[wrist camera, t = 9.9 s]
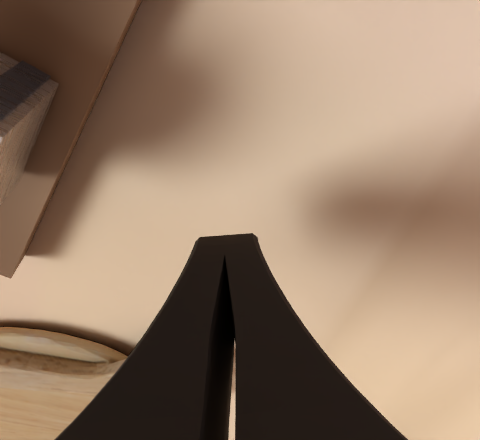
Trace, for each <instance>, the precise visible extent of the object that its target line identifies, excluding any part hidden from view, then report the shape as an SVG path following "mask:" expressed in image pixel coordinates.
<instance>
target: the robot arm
mask: <svg viewBox="0 0 480 440" xmlns="http://www.w3.org/2000/svg"><path fill="white" fill-rule="evenodd" d="M234 340H235V344H236V421H235V440H408V439H407V438H406V437H404V436H403V435H402V434H401V433H400V432H399V431H398V430H397V429H396V428H395V427H394V426H393V425H392V424H391V423H390V422H389V421H388V420H387V419H386V418H385V417H384V416H383V415H382V414H381V413H380V412H379V411H378V410H377V409H376V408H375V407H374V406H373V405H372V404H371V403H370V402H369V401H368V400H367V399H366V398H365V397H364V396H363V395H362V394H361V393H360V392H359V391H358V390H357V389H356V388H355V387H354V386H353V385H352V383H351V382H350V381H349V380H348V379H347V378H346V377H345V375H344V374H343V373H342V372H341V371H340V370H339V369H338V367H337V366H336V365H335V364H334V363H333V362H332V361H331V359H330V358H329V357H328V356H327V354H326V353H325V352H324V351H323V349H322V348H321V347H320V346H319V344H318V343H317V342H316V341H315V339H314V338H313V337H312V335H311V334H310V333H309V331H308V330H307V329H306V327H305V326H304V324H303V323H302V321H301V320H300V319H299V317H298V316H297V314H296V313H295V311H294V310H293V308H292V307H291V305H290V304H289V302H288V300H287V299H286V297H285V296H284V294H283V292H282V290H281V289H280V287H279V285H278V284H277V282H276V280H275V278H274V277H273V275H272V273H271V271H270V269H269V267H268V265H267V263H266V261H265V258H264V256H263V254H262V251H261V249H260V246H259V243H258V238H257V237H256V236H255V235H254V234H253V233H250V234H236V235H223V236H209V237H200V238H199V239H198V240H197V241H196V242H195V245H194V247H193V250H192V252H191V254H190V257H189V259H188V261H187V263H186V265H185V267H184V269H183V271H182V273H181V275H180V277H179V279H178V280H177V282H176V284H175V286H174V287H173V289H172V291H171V293H170V295H169V296H168V298H167V300H166V302H165V303H164V305H163V306H162V308H161V310H160V311H159V313H158V314H157V316H156V317H155V319H154V320H153V322H152V323H151V325H150V326H149V328H148V329H147V331H146V333H145V334H144V335H143V337H142V338H141V340H140V341H139V342H138V344H137V345H136V347H135V348H134V349H133V351H132V352H131V353H130V355H129V356H128V357H127V359H126V360H125V361H124V362H123V364H122V365H121V366H120V368H119V369H118V370H117V371H116V373H115V374H114V375H113V376H112V377H111V379H110V380H109V381H108V382H107V383H106V384H105V386H104V387H103V388H102V389H101V390H100V391H99V393H98V394H97V395H96V396H95V397H94V398H93V400H92V401H91V402H90V403H89V404H88V405H87V406H86V407H85V408H84V410H83V411H82V412H81V413H80V414H79V415H78V416H77V417H76V418H75V419H74V420H73V421H72V422H71V423H70V424H69V425H68V426H67V427H66V428H65V429H64V430H63V431H62V432H61V433H60V434H59V435H58V436H57V437H56V438H55V439H54V440H228V433H229V416H230V401H231V386H232V371H233V356H234Z"/></svg>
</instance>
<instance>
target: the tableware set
mask: <svg viewBox="0 0 480 440" xmlns="http://www.w3.org/2000/svg"><path fill="white" fill-rule="evenodd" d="M127 357H128V356H126V355H124V354H122V353H120V352H118V351H116V350H114V349H112V348H109V347H107V346H105V345H102V344H99V343H96V342H93V341H89V340H86V339H82V338H78V337H74V336H70V335H67V334H63V333H57V332H51V331H45V330H38V329H28V328H17V327H0V440H54V439H55V438H56V437H57V436H58V435H59V434H60V433H61V432H62V431H63V430H64V429H65V428H66V427H67V426H68V425H69V424H70V423H71V422H72V421H73V420H74V419H75V418H76V417H77V416H78V415H79V414H80V413H81V412H82V411H83V410H84V408H85V407H86V406H87V405H88V404H89V403H90V402H91V401H92V400H93V398H94V397H95V396H96V395H97V394H98V393H99V391H100V390H101V389H102V388H103V387H104V386H105V384H106V383H107V382H108V381H109V380H110V379H111V377H112V376H113V375H114V374H115V373H116V371H117V370H118V369H119V368H120V366H121V365H122V364H123V362H124V361H125V360H126V359H127Z"/></svg>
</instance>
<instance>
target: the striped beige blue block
mask: <svg viewBox="0 0 480 440" xmlns="http://www.w3.org/2000/svg"><path fill="white" fill-rule="evenodd" d="M50 77H51V76H50V75H48V74H46V73H44V72H43V71H41V70H39V69H37V68H35V67H34V66H32V65H30V64H28V63H26V62H24V61H23V60H22V61H21V62H18V61H16V60H14V59H12V58H10V57H8V56H7V55H5V54H3V53H1V52H0V205H1V204H2V203H3V201H4V200H5V199H6V198H7V196H8V195H9V194H10V193H11V191H12V190H13V189H14V188H15V186H16V185H17V184H18V183H19V181H20V179H21V176H22V174H23V171H24V169H25V166H26V164H27V161H28V159H29V156H30V154H31V151H32V149H33V146H34V144H35V141H36V139H37V136H38V134H39V131H40V129H41V126H42V124H43V121H44V119H45V117H46V114H47V112H48V109H49V107H50V104H51V102H52V99H53V97H54V94H55V92H56V89H57V87H58V83H56V82H54V81H53V80H51V79H50Z"/></svg>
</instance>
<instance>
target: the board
mask: <svg viewBox="0 0 480 440" xmlns="http://www.w3.org/2000/svg"><path fill="white" fill-rule="evenodd" d="M141 1H142V0H0V52H1V53H3V54H5V55H7V56H8V57H10V58H12V59H14V60H16V61H18V62H21V61H22V60H23V61H24V62H26V63H28V64H30V65H32V66H34V67H35V68H37V69H39V70H41V71H43V72H44V73H46V74H48V75H50V76H51V77H50V79H51V80H53V81H54V82H56V83H58V87H57V89H56V92H55V94H54V97H53V99H52V102H51V104H50V107H49V109H48V112H47V114H46V117H45V119H44V121H43V124H42V126H41V129H40V131H39V134H38V136H37V139H36V141H35V144H34V146H33V149H32V151H31V154H30V156H29V159H28V161H27V164H26V166H25V169H24V171H23V174H22V176H21V179H20V181H19V183H18V184H17V185H16V186H15V188H14V189H13V190H12V191H11V193H10V194H9V195H8V196H7V198H6V199H5V200H4V201H3V203H2V204H1V205H0V275H3V276H5V277H8V278H11V277H12V276H13V274H14V272H15V271H16V269H17V267H18V266H19V264H20V262H21V261H22V259H23V257H24V256H25V253H26V251H27V249H28V247H29V245H30V242H31V240H32V238H33V236H34V234H35V232H36V229H37V227H38V225H39V223H40V221H41V219H42V216H43V214H44V212H45V210H46V208H47V205H48V203H49V201H50V199H51V197H52V195H53V192H54V190H55V188H56V186H57V184H58V182H59V179H60V177H61V175H62V173H63V171H64V168H65V166H66V164H67V162H68V160H69V158H70V155H71V153H72V151H73V149H74V147H75V145H76V142H77V140H78V138H79V136H80V134H81V131H82V129H83V127H84V125H85V123H86V121H87V118H88V116H89V114H90V112H91V110H92V108H93V105H94V103H95V101H96V99H97V97H98V94H99V92H100V90H101V88H102V86H103V84H104V81H105V79H106V77H107V75H108V73H109V71H110V68H111V66H112V64H113V62H114V60H115V57H116V55H117V53H118V51H119V49H120V47H121V44H122V42H123V40H124V38H125V36H126V34H127V31H128V29H129V27H130V25H131V23H132V20H133V18H134V16H135V14H136V12H137V10H138V7H139V5H140V3H141Z"/></svg>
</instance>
